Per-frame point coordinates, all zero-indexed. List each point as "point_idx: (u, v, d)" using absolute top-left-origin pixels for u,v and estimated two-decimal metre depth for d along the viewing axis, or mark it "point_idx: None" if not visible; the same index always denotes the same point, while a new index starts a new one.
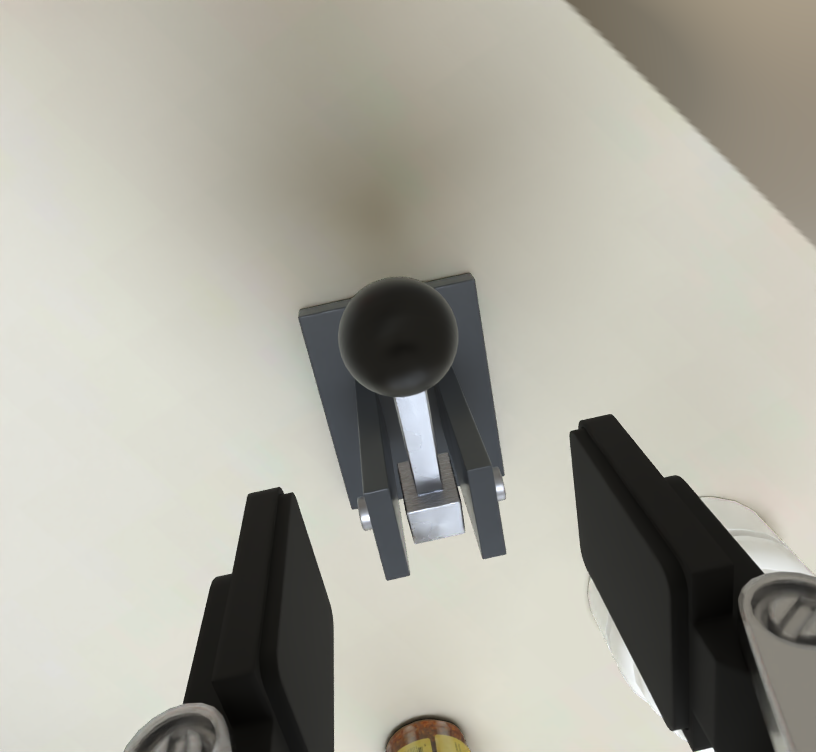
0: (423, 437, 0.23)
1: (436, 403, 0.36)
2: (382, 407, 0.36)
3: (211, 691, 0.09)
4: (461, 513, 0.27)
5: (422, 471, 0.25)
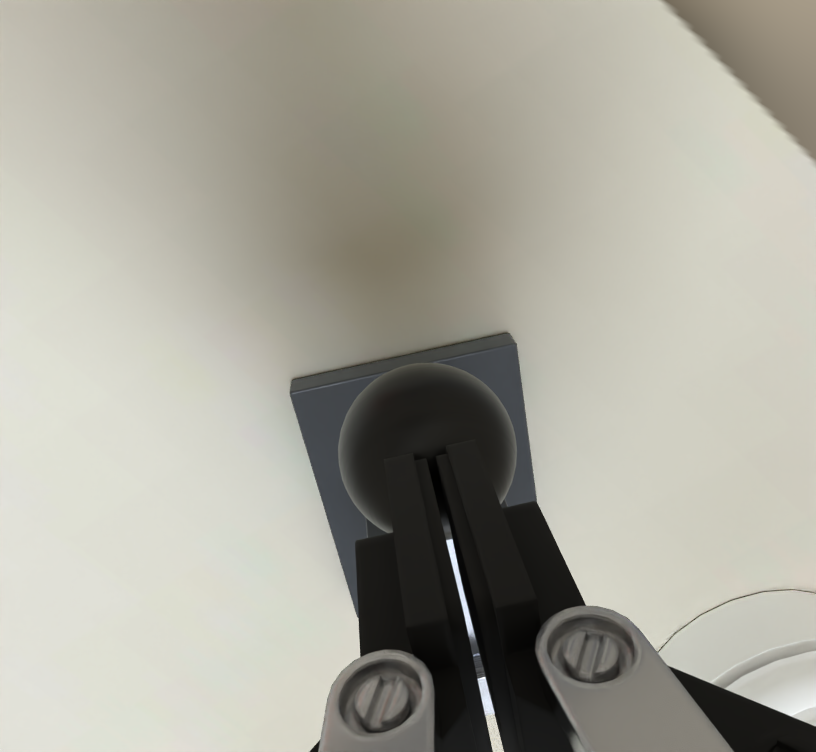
0: (461, 588, 0.16)
1: None
2: None
3: (386, 643, 0.09)
4: None
5: None
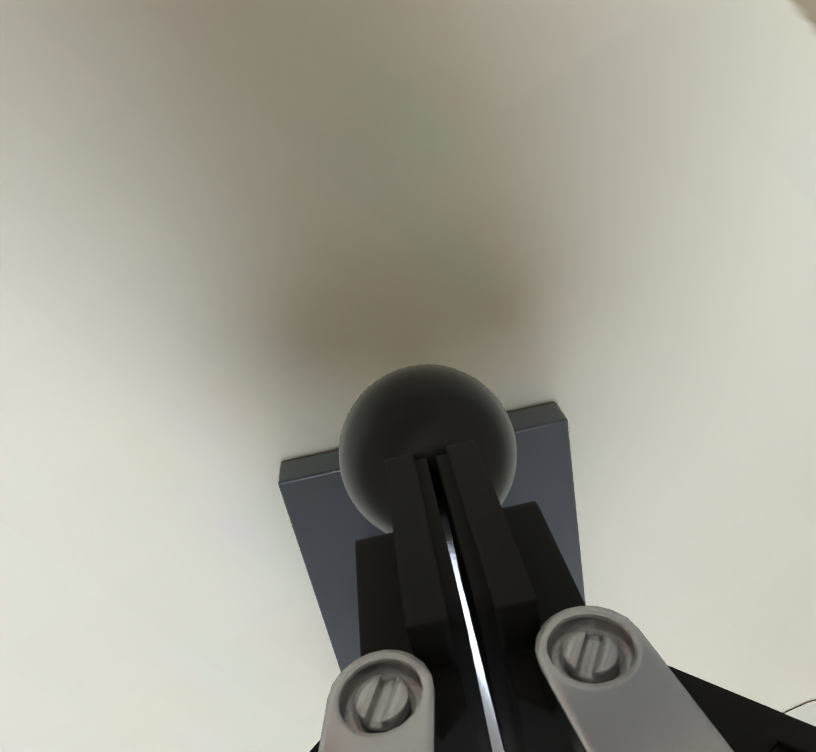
0: (484, 678, 0.14)
1: None
2: None
3: (386, 643, 0.09)
4: None
5: None
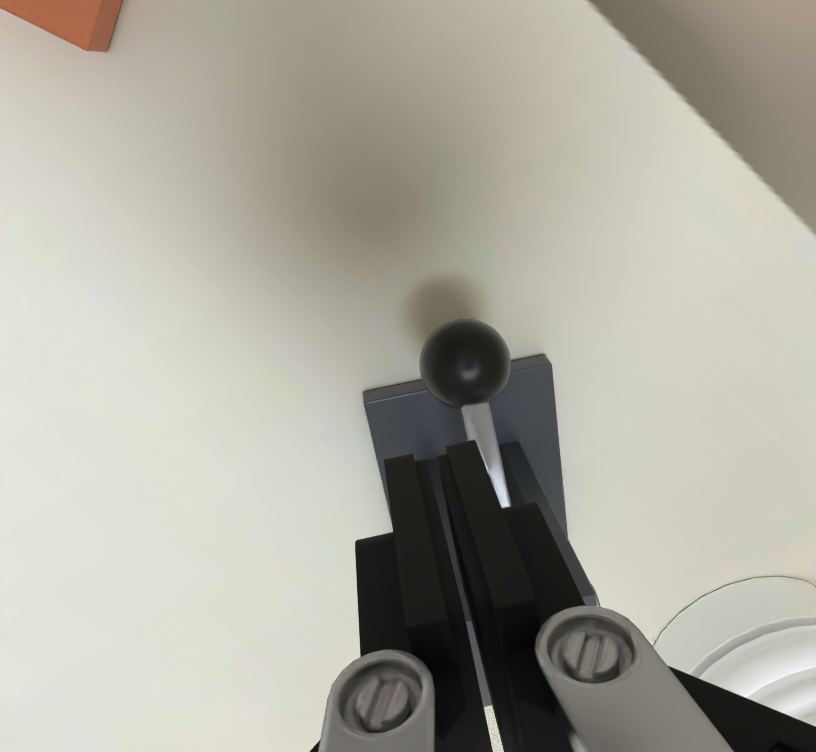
0: (496, 482, 0.26)
1: None
2: None
3: (386, 643, 0.09)
4: None
5: None
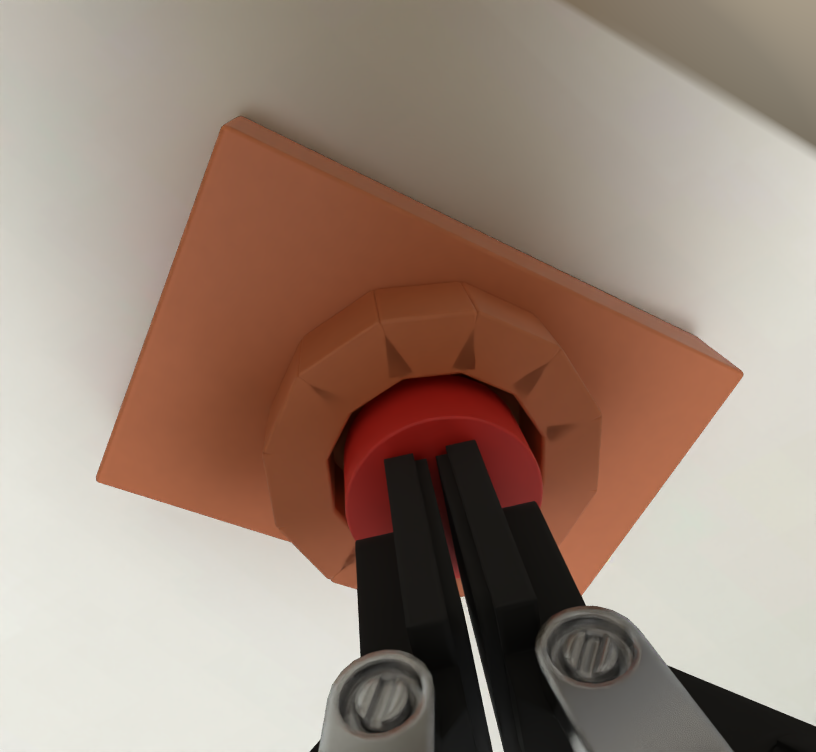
0: None
1: None
2: None
3: (386, 643, 0.09)
4: None
5: None
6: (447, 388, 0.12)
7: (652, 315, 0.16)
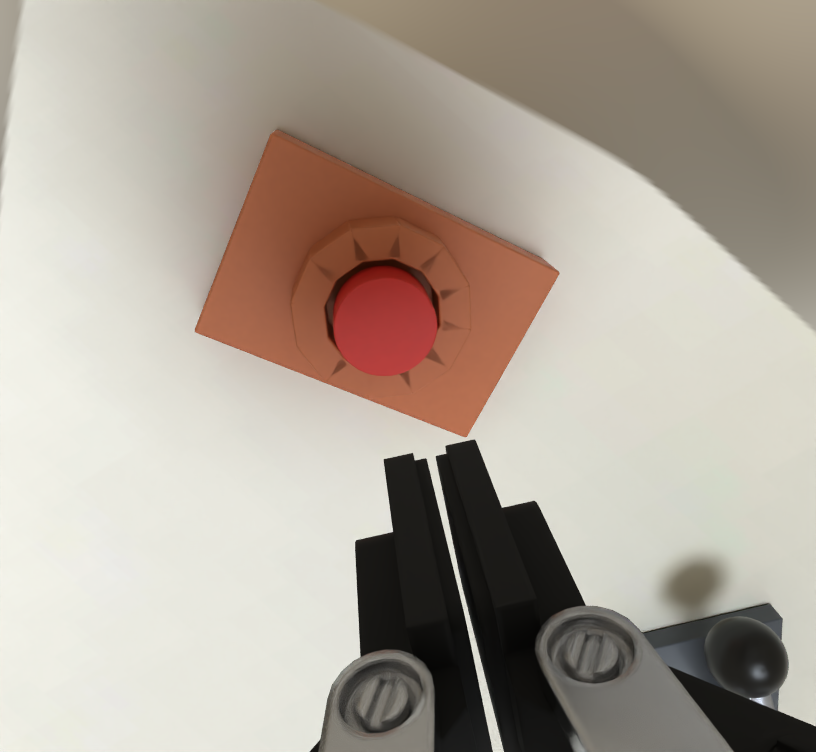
0: None
1: None
2: None
3: (386, 643, 0.09)
4: None
5: None
6: (387, 270, 0.23)
7: None
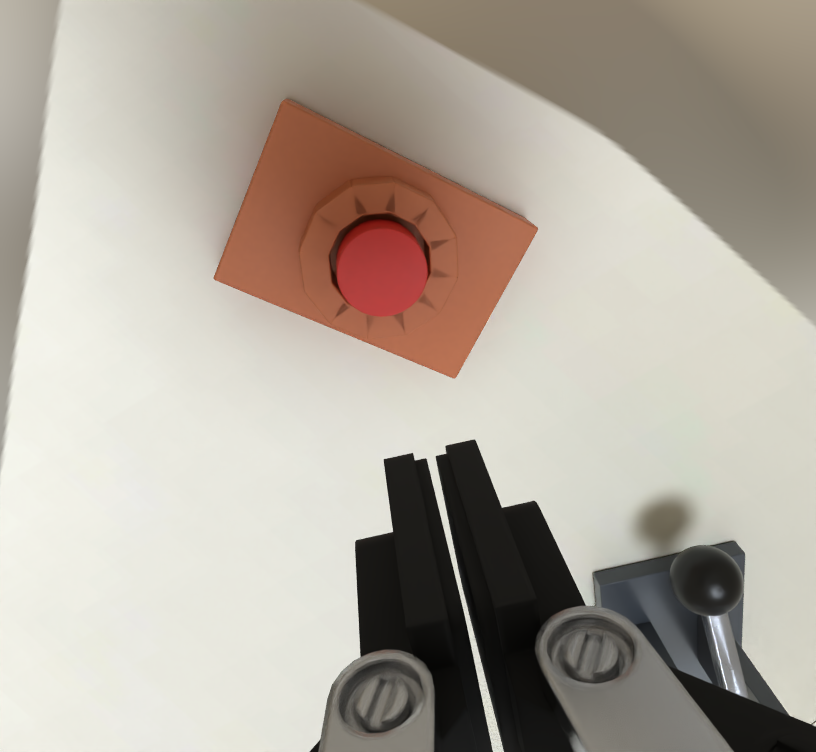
0: (735, 673, 0.34)
1: (696, 640, 0.43)
2: None
3: (386, 643, 0.09)
4: None
5: None
6: (383, 222, 0.27)
7: (499, 205, 0.31)
